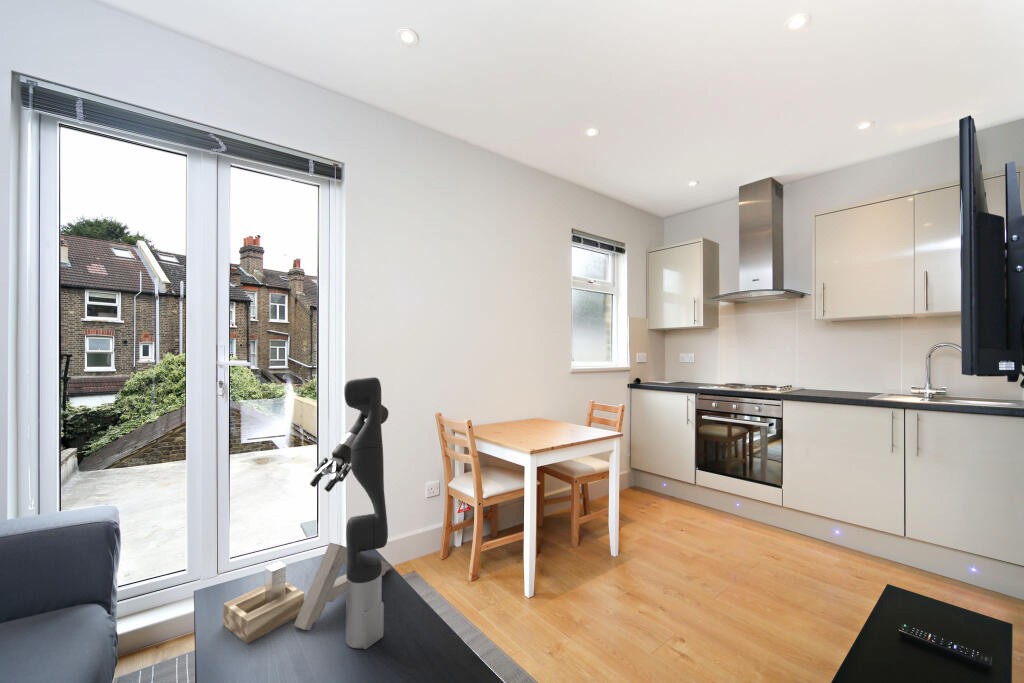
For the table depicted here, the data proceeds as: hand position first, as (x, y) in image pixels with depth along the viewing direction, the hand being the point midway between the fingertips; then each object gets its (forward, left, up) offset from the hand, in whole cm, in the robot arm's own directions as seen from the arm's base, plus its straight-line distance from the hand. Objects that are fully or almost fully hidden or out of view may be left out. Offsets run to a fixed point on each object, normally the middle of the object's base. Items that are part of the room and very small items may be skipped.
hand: (319, 488), depth 145 cm
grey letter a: (-17, 0, -32) cm, 36 cm away
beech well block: (-6, +21, -31) cm, 38 cm away
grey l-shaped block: (-6, +21, -30) cm, 37 cm away
